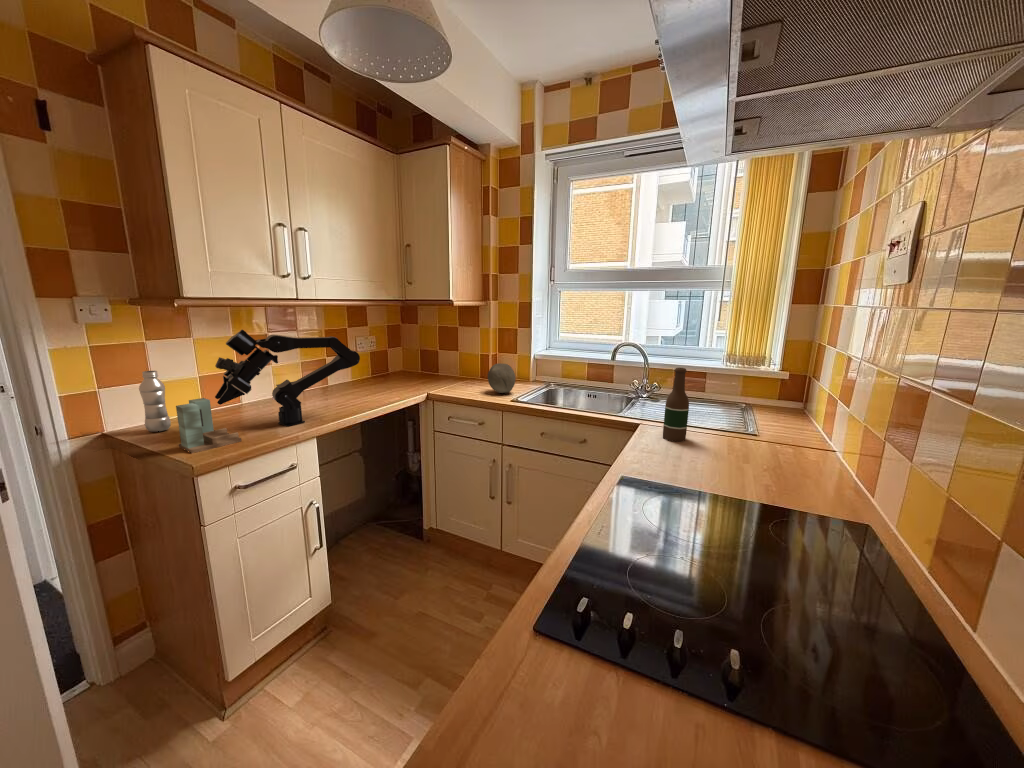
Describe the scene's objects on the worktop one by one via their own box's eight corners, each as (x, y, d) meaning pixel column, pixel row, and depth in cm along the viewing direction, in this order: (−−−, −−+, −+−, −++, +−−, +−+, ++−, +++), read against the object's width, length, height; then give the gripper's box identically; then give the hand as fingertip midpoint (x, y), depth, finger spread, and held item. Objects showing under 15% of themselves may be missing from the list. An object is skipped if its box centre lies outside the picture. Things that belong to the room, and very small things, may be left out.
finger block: (208, 433, 134) (203, 397, 131) (214, 436, 131) (209, 399, 129) (191, 437, 130) (186, 400, 127) (197, 439, 127) (192, 402, 125)
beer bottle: (667, 433, 143) (674, 365, 138) (690, 438, 137) (697, 368, 133) (657, 438, 137) (663, 367, 133) (680, 443, 132) (687, 370, 127)
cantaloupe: (519, 392, 205) (520, 362, 202) (508, 397, 192) (508, 366, 189) (494, 389, 211) (495, 360, 208) (481, 394, 198) (481, 364, 195)
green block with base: (227, 435, 132) (223, 396, 129) (241, 441, 127) (236, 400, 124) (178, 447, 121) (172, 404, 118) (191, 453, 116) (185, 409, 114)
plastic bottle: (157, 434, 131) (147, 373, 128) (140, 433, 133) (130, 372, 129) (177, 428, 138) (168, 370, 134) (160, 427, 139) (151, 369, 135)
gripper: (228, 345, 139) (191, 381, 134) (234, 351, 124) (193, 390, 120) (257, 367, 145) (223, 401, 140) (266, 374, 131) (229, 412, 126)
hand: (217, 401), depth 131 cm, fingers open, 9 cm apart
